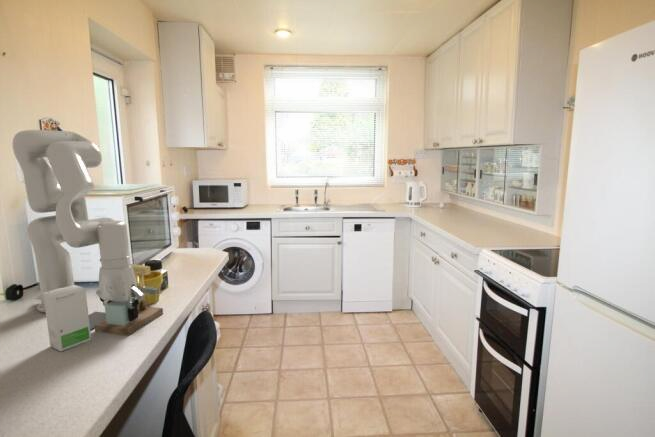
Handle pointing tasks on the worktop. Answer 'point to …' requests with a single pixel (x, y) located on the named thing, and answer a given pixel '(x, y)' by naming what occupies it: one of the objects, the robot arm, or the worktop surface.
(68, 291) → the skincare box
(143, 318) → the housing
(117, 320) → the mint green cube
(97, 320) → the mat
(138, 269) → the t key
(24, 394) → the worktop surface
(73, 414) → the worktop surface
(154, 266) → the medicine bottle
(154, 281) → the plant pot
